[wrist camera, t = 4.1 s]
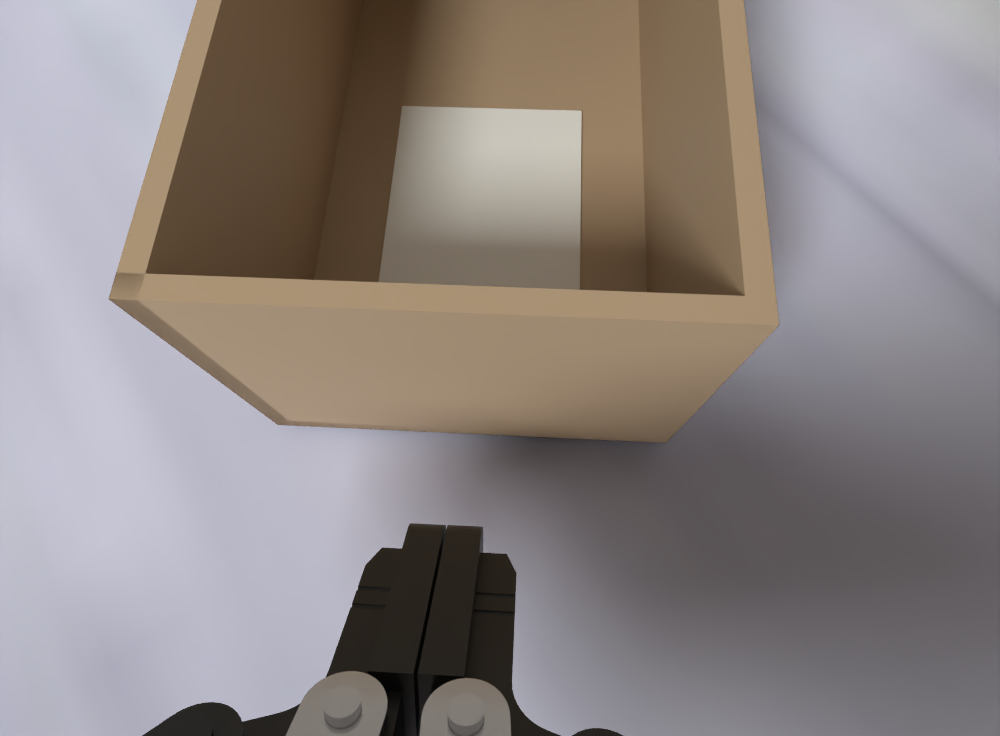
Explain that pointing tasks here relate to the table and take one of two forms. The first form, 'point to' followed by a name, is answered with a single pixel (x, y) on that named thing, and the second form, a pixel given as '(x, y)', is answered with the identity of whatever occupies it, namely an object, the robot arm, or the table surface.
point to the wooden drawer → (459, 213)
